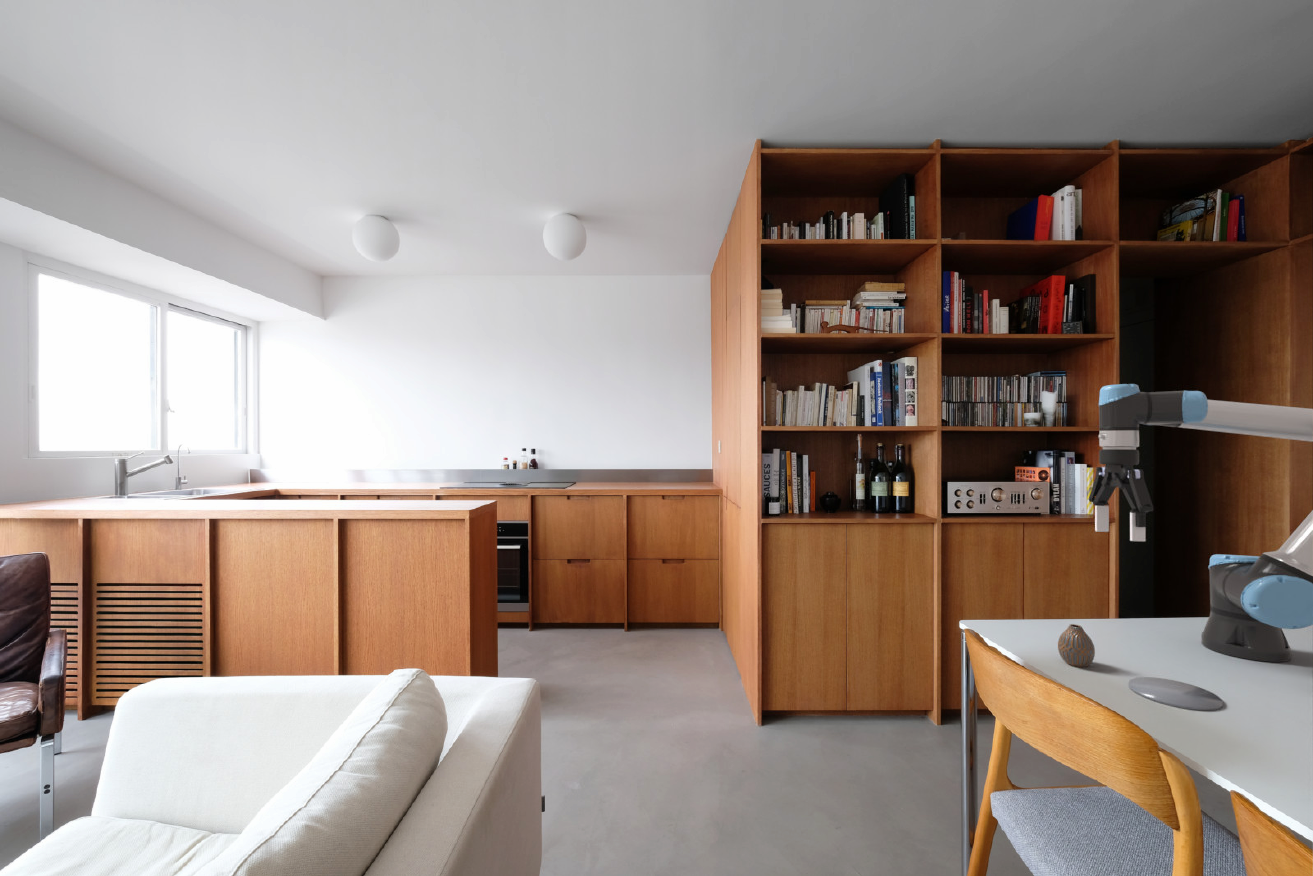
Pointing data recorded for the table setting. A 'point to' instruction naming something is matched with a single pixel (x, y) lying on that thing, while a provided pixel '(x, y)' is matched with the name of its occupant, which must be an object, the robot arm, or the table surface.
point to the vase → (1076, 646)
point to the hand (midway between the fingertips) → (1119, 536)
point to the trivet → (1175, 693)
